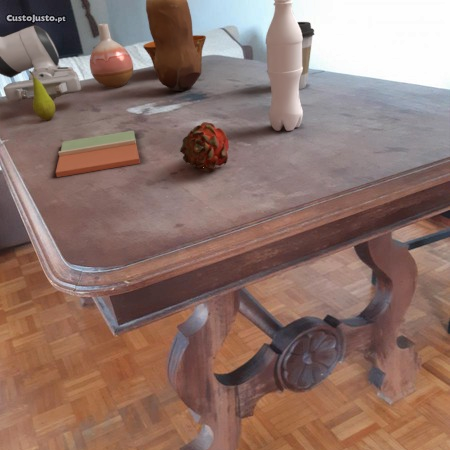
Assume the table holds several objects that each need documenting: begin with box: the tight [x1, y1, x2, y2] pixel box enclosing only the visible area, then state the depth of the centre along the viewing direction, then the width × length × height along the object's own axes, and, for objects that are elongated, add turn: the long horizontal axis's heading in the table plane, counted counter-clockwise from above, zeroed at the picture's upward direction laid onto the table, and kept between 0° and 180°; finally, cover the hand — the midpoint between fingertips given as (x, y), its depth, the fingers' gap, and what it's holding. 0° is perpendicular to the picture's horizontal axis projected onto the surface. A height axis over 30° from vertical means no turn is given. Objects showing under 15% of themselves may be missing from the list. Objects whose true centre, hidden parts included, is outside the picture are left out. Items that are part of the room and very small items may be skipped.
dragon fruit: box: [179, 121, 230, 173], centre depth 85 cm, size 8×8×12 cm
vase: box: [89, 23, 134, 89], centre depth 150 cm, size 14×14×18 cm
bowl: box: [142, 34, 207, 69], centre depth 160 cm, size 21×21×10 cm
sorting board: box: [55, 129, 140, 178], centre depth 99 cm, size 16×20×2 cm
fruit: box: [29, 70, 56, 121], centre depth 124 cm, size 6×6×12 cm
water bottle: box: [265, 0, 304, 132], centre depth 94 cm, size 7×7×25 cm
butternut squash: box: [145, 0, 203, 92], centre depth 133 cm, size 14×13×25 cm
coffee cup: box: [297, 21, 315, 90], centre depth 126 cm, size 11×11×15 cm
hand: (40, 93), depth 125 cm, fingers open, 8 cm apart
